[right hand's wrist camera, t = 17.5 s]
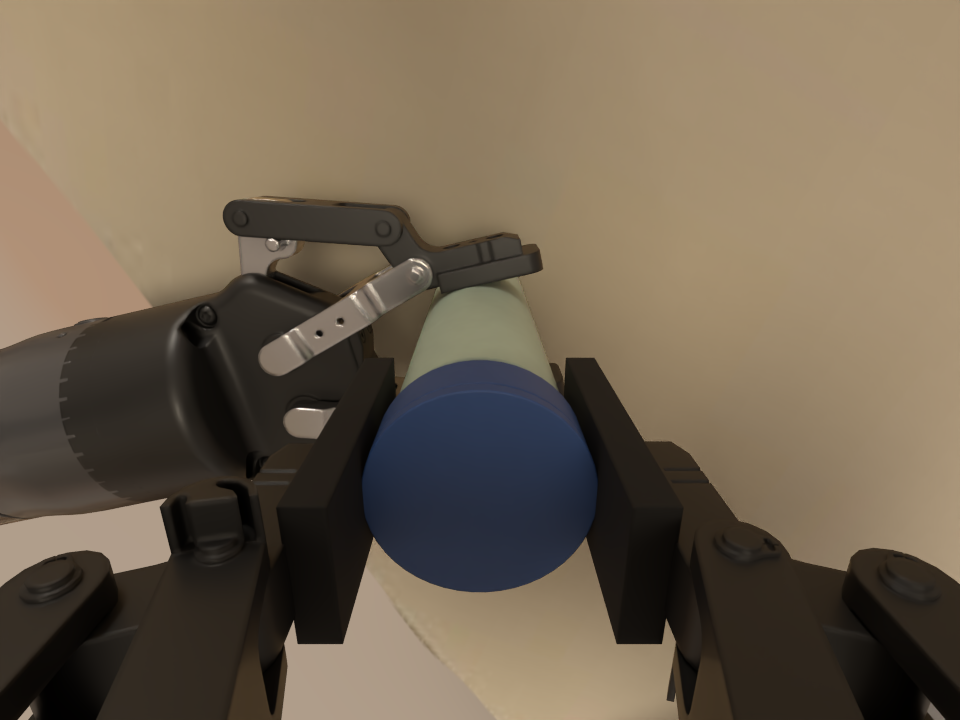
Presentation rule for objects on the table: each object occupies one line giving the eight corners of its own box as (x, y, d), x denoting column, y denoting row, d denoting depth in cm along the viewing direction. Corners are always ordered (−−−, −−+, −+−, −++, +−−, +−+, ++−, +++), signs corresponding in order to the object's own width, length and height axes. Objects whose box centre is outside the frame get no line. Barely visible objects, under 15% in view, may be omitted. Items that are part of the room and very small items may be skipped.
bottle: (457, 238, 25) (425, 347, 10) (537, 276, 26) (620, 431, 11) (423, 316, 27) (347, 517, 11) (499, 350, 27) (525, 584, 12)
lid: (436, 566, 13) (429, 621, 11) (336, 412, 11) (314, 451, 10) (614, 497, 12) (633, 544, 11) (532, 322, 11) (541, 349, 9)
